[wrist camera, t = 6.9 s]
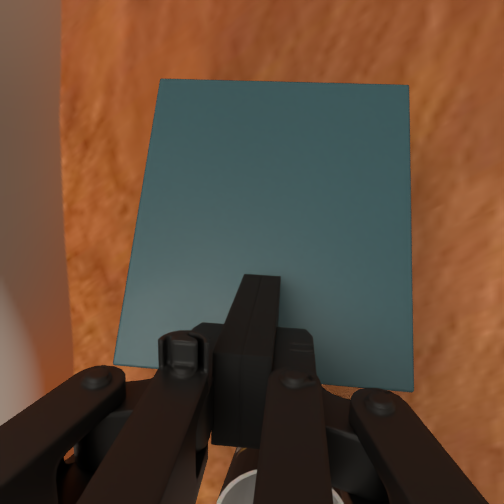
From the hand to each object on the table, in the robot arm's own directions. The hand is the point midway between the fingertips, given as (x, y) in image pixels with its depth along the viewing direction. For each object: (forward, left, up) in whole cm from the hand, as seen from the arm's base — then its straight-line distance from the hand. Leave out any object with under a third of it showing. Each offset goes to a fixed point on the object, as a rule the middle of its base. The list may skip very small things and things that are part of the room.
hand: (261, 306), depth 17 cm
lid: (+3, 0, -4) cm, 5 cm away
